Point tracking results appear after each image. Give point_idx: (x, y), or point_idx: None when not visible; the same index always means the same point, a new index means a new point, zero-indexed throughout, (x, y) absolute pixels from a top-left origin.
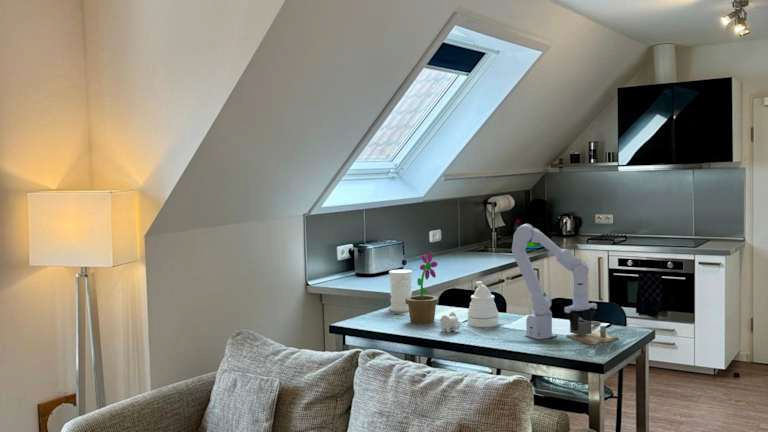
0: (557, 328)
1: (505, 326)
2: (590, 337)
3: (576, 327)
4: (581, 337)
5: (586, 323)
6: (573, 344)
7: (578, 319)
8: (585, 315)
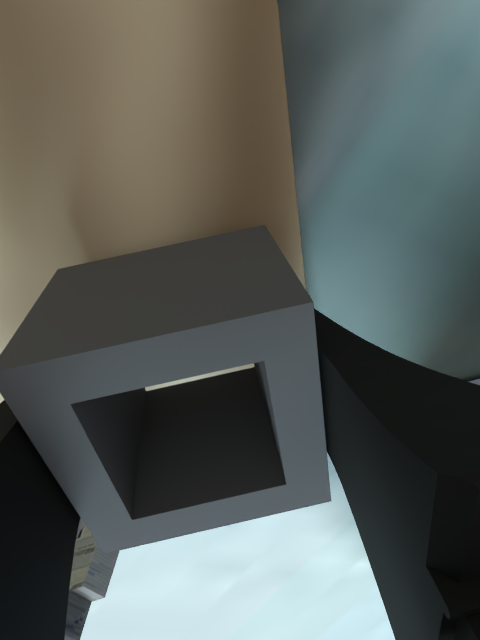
0: (198, 578)
1: None
2: (123, 175)
3: (322, 316)
4: (239, 220)
5: (140, 327)
6: (459, 43)
7: (77, 605)
8: (33, 592)
